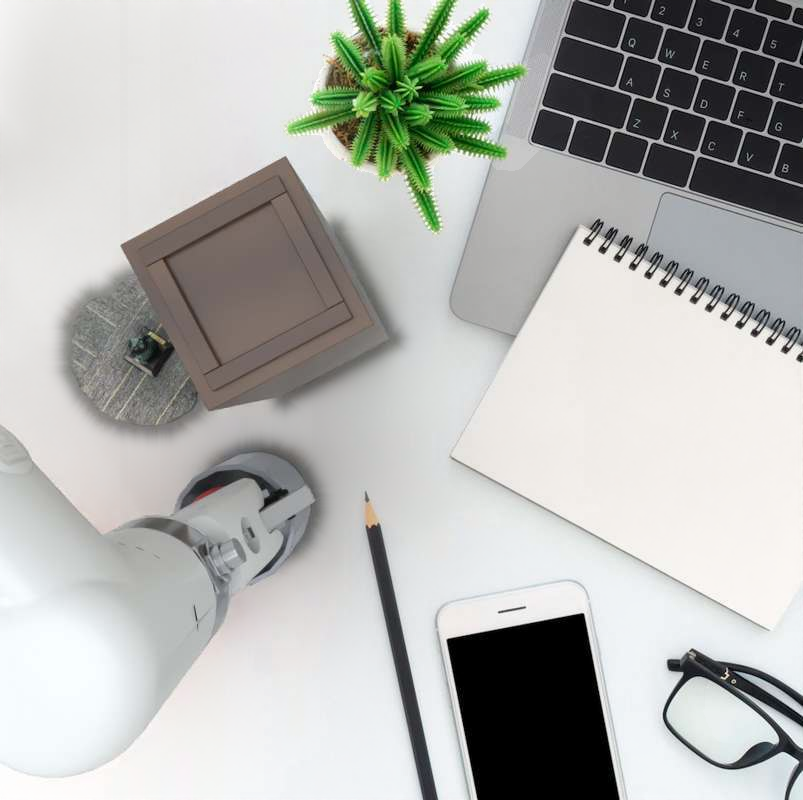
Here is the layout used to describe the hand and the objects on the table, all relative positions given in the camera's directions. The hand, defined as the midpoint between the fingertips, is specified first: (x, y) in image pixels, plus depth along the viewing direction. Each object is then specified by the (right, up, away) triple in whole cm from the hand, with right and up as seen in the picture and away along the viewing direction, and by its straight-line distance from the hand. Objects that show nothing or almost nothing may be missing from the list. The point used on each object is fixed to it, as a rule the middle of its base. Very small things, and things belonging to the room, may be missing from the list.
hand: (229, 525), depth 60 cm
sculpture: (-9, +13, +9) cm, 18 cm away
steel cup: (0, 0, +9) cm, 10 cm away
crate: (+5, +16, +9) cm, 19 cm away
